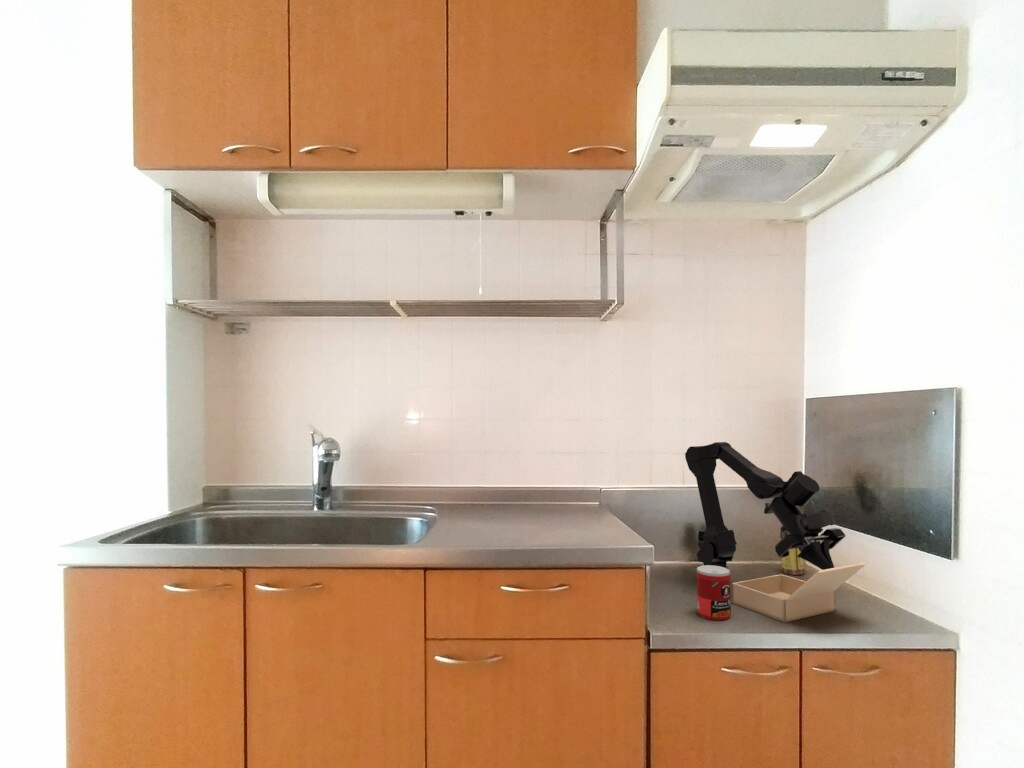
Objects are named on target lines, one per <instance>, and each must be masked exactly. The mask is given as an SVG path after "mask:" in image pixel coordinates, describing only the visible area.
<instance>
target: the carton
mask: <svg viewBox="0 0 1024 768" xmlns="http://www.w3.org/2000/svg"><path fill="white" fill-rule="evenodd" d="M806 581H807V580H806ZM806 581H805V580H802V579H799V578H797V577H796V578H795V577H792V576H789V575H786V574H781V573H780V574H775V575H769V576H764V577H758V578H751V579H748V580H743V581H737V582H736V581H735V582H732V583H731V604H734V605H737V606H739V607H742V608H745V609H748V610H750V611H754V612H755V613H759V614H760V615H764V616H767V617H769V618H772V619H775V620H777V621H780V622H783V623H788V622H791V621H796V620H800V619H805V618H810V617H813V616H814V617H815V616H818V615H819V616H820V615H822V614H827V613H828V614H829V613H831V612H835V611H837V598H836V594H837V593H836V592H837V591H836V590H835V591H832V592H827V593H823V594H818V595H813V596H808V597H804V598H799V599H794V600H789V601H788V600H787V598H788V597H789V596H791V595H792V594H793V593H794V592H795V591H796V590H797V589H798V588H799V587H801V586H802V585H803V584H804V583H805V582H806Z"/></svg>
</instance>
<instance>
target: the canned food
mask: <svg viewBox="0 0 1024 768" xmlns="http://www.w3.org/2000/svg"><path fill="white" fill-rule="evenodd" d="M730 571H731V570H730V568H729V569H727V568H724V567H720V566H713V565H700V566H697V567H696V601H697V603H696V604H697V605H696V606H697V613H698V615H699V616H700V617H702V618H704V619H707V620H711V621H726V620H729V619H730V618H731V615H732V586H731V572H730Z"/></svg>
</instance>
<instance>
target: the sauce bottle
mask: <svg viewBox="0 0 1024 768" xmlns="http://www.w3.org/2000/svg"><path fill="white" fill-rule="evenodd" d="M782 527H783V525H782V524H781V527H780V533H779V537H780V538H779V541H780V540H781V539H782V538H783V537H784V536H785V535H789V534H788V532H782V530H781V528H782ZM788 551H789V556H788V557H782V558H781V566H782V567H781V568H782V572H783V573H785V574H787V575H793V576H802V575H804V574H805V568H806V567H805V560H804V559H802V558H799V557H798V555H799V554H800V551H799V548H794V549H789V550H788Z"/></svg>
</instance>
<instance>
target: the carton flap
mask: <svg viewBox="0 0 1024 768" xmlns="http://www.w3.org/2000/svg"><path fill="white" fill-rule="evenodd" d="M865 565H867V563H866V562H865V561H864V562H863V561H862V562H859V563H852V564H848V565H847V564H846V565H842V566H837V567H836V566H835V567H834V568H830V569H825V570H822V569H820V570H817V571H816V572H815V573H814V574H813V575H812V576H811V577H810V578H808V579H807V580H806V582H805V583H804V584H803V585H802V586H801V587H799V588H798V589H797V590H796V591H795V592H794V593H793V594H792V595H791V596H789V597H788V598H787V600H788V601H789V600H794V599H799V598H804V597H808V596H813V595H818V594H823V593H827V592H832V591H835V592H836V590H837V589H839V587H841V586H842V585H843V584H844V583H845V582H847V581H848V580H849V579H851V578H852V577H853V576H854V575H855V574H857V572H859V571H860V570H861V569H862V568H864V566H865Z"/></svg>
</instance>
